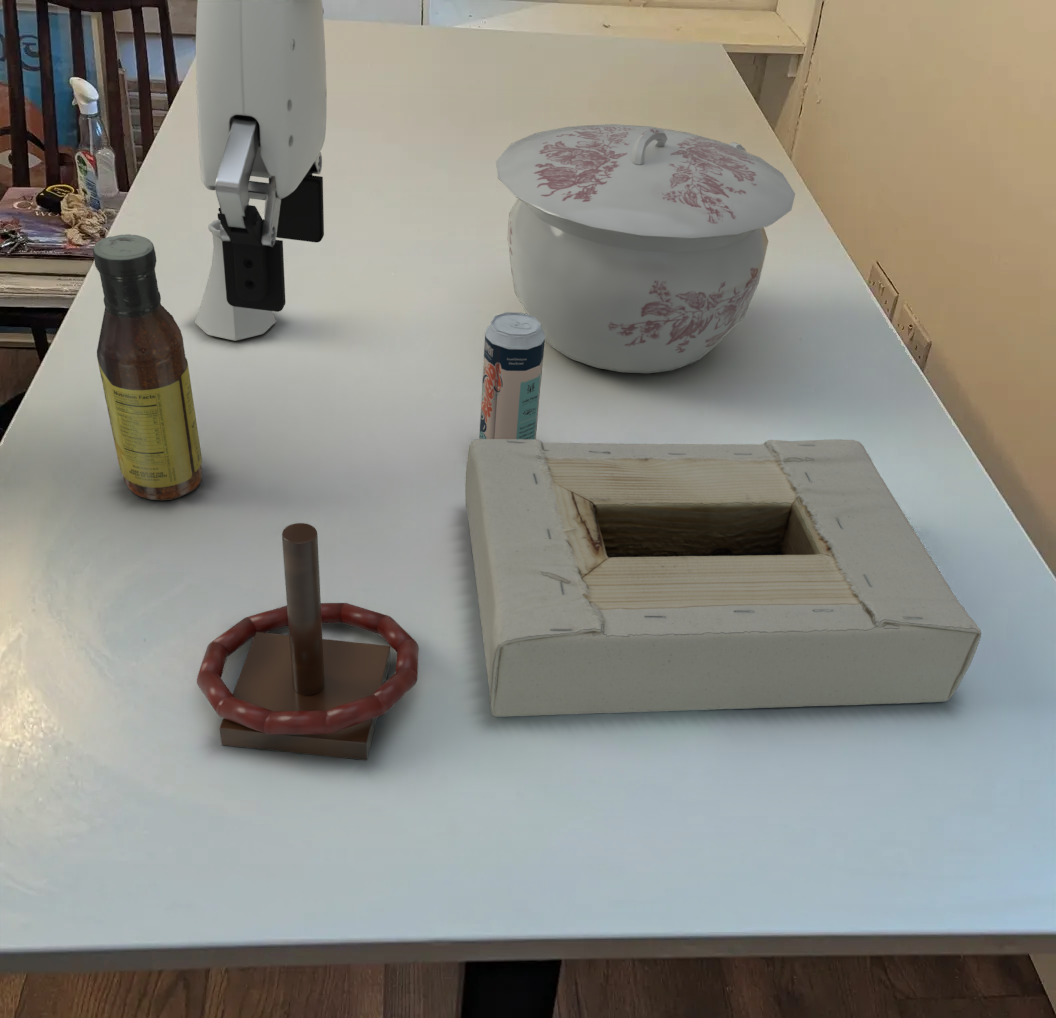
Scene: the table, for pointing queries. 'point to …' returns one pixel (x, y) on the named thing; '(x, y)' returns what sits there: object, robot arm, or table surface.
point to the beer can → (511, 377)
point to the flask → (218, 312)
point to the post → (307, 665)
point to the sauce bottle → (145, 375)
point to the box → (703, 579)
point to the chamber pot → (637, 240)
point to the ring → (308, 720)
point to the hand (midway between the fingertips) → (278, 270)
